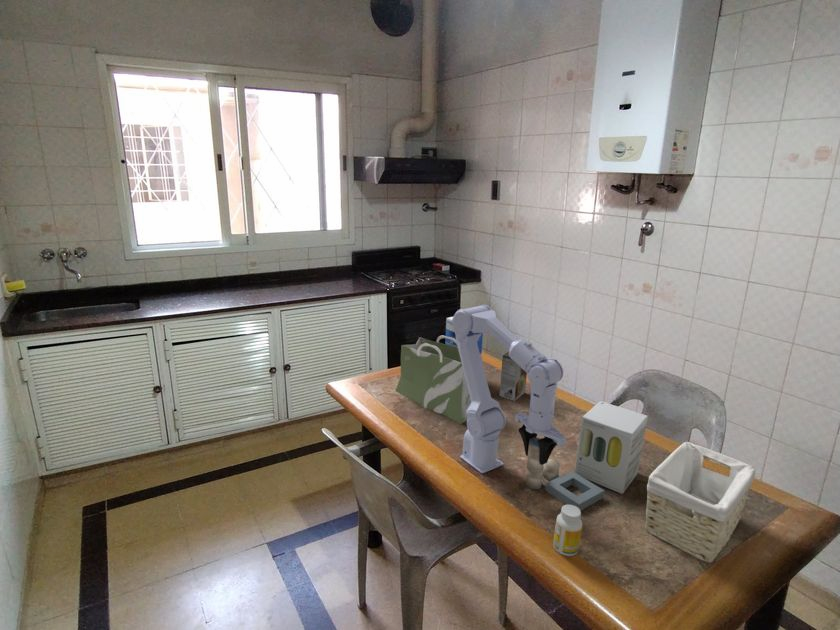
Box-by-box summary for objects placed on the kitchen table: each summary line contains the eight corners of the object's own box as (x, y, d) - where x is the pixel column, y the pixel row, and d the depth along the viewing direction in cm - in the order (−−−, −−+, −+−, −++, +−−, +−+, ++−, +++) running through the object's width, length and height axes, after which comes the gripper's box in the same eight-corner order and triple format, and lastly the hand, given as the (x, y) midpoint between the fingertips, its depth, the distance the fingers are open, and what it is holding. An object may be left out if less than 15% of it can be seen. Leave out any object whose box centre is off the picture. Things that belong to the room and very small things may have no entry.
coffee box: (509, 388, 186) (513, 348, 181) (525, 393, 182) (529, 352, 178) (498, 396, 179) (502, 354, 174) (514, 401, 175) (518, 359, 171)
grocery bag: (392, 392, 179) (393, 331, 173) (419, 382, 189) (421, 324, 182) (459, 425, 158) (463, 357, 151) (486, 411, 167) (491, 347, 161)
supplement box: (572, 474, 134) (580, 416, 129) (591, 454, 144) (599, 399, 139) (622, 495, 126) (633, 433, 121) (638, 472, 135) (649, 415, 131)
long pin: (523, 467, 124) (525, 440, 121) (534, 462, 126) (537, 436, 124) (534, 475, 120) (537, 447, 118) (546, 470, 122) (549, 443, 120)
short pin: (539, 475, 133) (541, 461, 132) (549, 470, 135) (550, 457, 134) (551, 482, 130) (552, 469, 129) (561, 477, 132) (562, 464, 131)
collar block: (545, 490, 126) (546, 483, 126) (570, 477, 132) (571, 470, 131) (577, 512, 119) (578, 504, 118) (603, 497, 124) (604, 490, 124)
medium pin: (522, 482, 129) (524, 464, 128) (533, 477, 132) (535, 459, 130) (534, 490, 126) (536, 472, 125) (544, 485, 128) (547, 467, 127)
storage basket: (712, 572, 102) (727, 511, 98) (634, 530, 113) (645, 475, 109) (745, 520, 118) (759, 466, 114) (675, 488, 129) (685, 438, 125)
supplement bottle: (548, 547, 107) (553, 510, 104) (560, 535, 111) (565, 498, 108) (571, 561, 104) (577, 522, 101) (582, 547, 107) (588, 510, 105)
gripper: (508, 401, 122) (503, 449, 126) (554, 425, 111) (547, 478, 114) (528, 394, 126) (523, 442, 130) (574, 417, 115) (567, 469, 118)
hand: (536, 458), depth 122 cm, fingers closed on long pin, 4 cm apart
